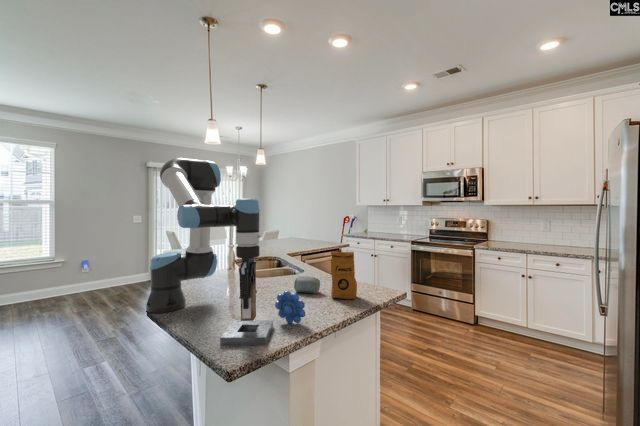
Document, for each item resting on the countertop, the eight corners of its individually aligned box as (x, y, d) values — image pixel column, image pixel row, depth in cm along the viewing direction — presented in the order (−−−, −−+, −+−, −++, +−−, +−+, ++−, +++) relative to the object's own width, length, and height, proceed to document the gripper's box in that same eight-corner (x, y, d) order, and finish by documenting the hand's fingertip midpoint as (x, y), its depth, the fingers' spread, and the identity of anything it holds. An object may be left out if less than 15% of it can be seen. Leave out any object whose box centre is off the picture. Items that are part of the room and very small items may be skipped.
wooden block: (241, 320, 95) (240, 284, 94) (244, 316, 99) (243, 281, 98) (253, 320, 95) (252, 284, 94) (256, 316, 99) (255, 281, 98)
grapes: (271, 326, 104) (270, 293, 104) (277, 319, 111) (277, 288, 111) (302, 329, 102) (302, 295, 102) (307, 321, 108) (306, 289, 108)
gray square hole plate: (220, 345, 90) (220, 337, 90) (234, 327, 104) (233, 320, 104) (265, 345, 90) (265, 337, 90) (273, 327, 104) (273, 320, 104)
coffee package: (356, 301, 132) (356, 253, 132) (329, 299, 135) (329, 252, 135) (357, 295, 142) (357, 250, 142) (332, 293, 145) (332, 249, 144)
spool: (288, 287, 145) (296, 268, 148) (295, 291, 153) (303, 273, 156) (311, 297, 139) (319, 278, 142) (317, 301, 147) (325, 282, 150)
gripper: (253, 248, 88) (253, 325, 88) (264, 242, 105) (264, 306, 105) (228, 248, 88) (229, 325, 88) (243, 242, 105) (244, 306, 105)
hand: (248, 315), depth 97 cm, fingers closed on wooden block, 4 cm apart
